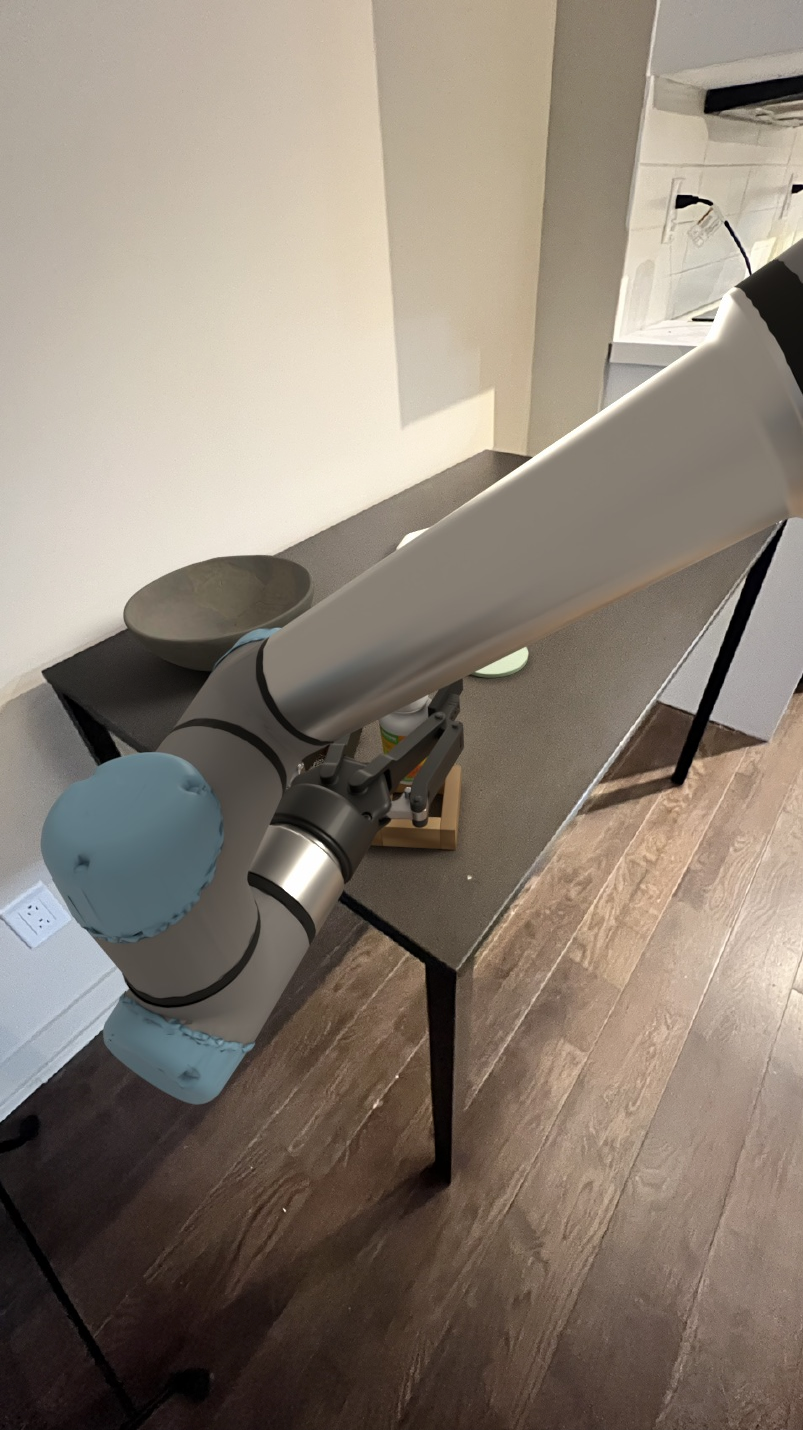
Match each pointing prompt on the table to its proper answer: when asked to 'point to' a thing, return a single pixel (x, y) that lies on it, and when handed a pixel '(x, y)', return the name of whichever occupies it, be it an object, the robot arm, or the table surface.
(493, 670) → the coaster
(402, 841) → the holder
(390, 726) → the supplement bottle
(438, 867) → the table surface
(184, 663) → the bowl
